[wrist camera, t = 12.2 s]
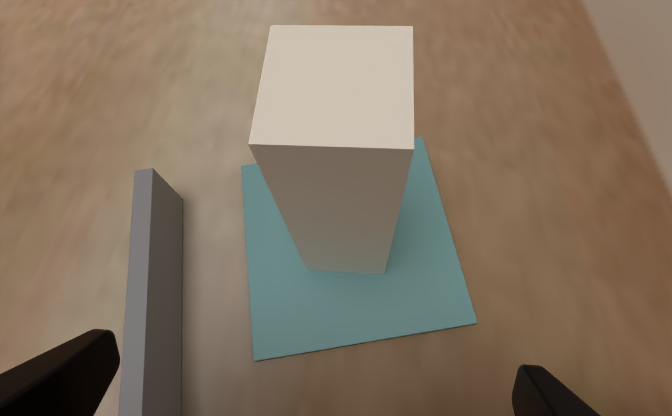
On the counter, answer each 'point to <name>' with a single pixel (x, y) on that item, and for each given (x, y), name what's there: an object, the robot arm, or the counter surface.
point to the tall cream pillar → (337, 138)
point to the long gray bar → (153, 301)
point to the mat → (352, 276)
